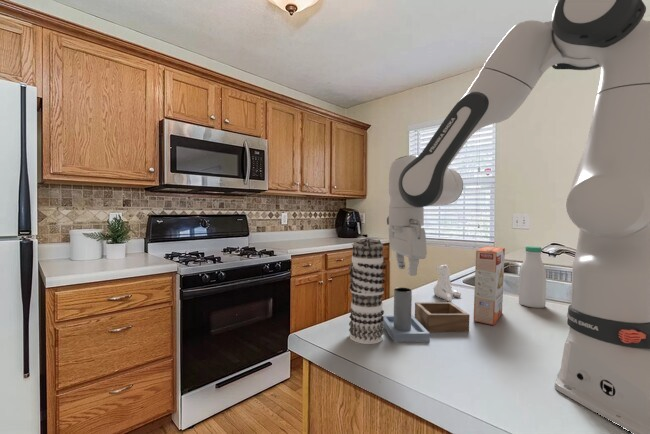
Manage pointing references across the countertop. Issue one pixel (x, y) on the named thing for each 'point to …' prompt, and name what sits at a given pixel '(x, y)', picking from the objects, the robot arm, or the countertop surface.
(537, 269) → the milk bottle
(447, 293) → the sitting furry creature
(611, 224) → the robot arm
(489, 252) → the cracker box
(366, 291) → the decorative candle
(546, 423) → the countertop surface
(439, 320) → the box
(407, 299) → the grey cylinder
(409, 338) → the tray
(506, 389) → the countertop surface
